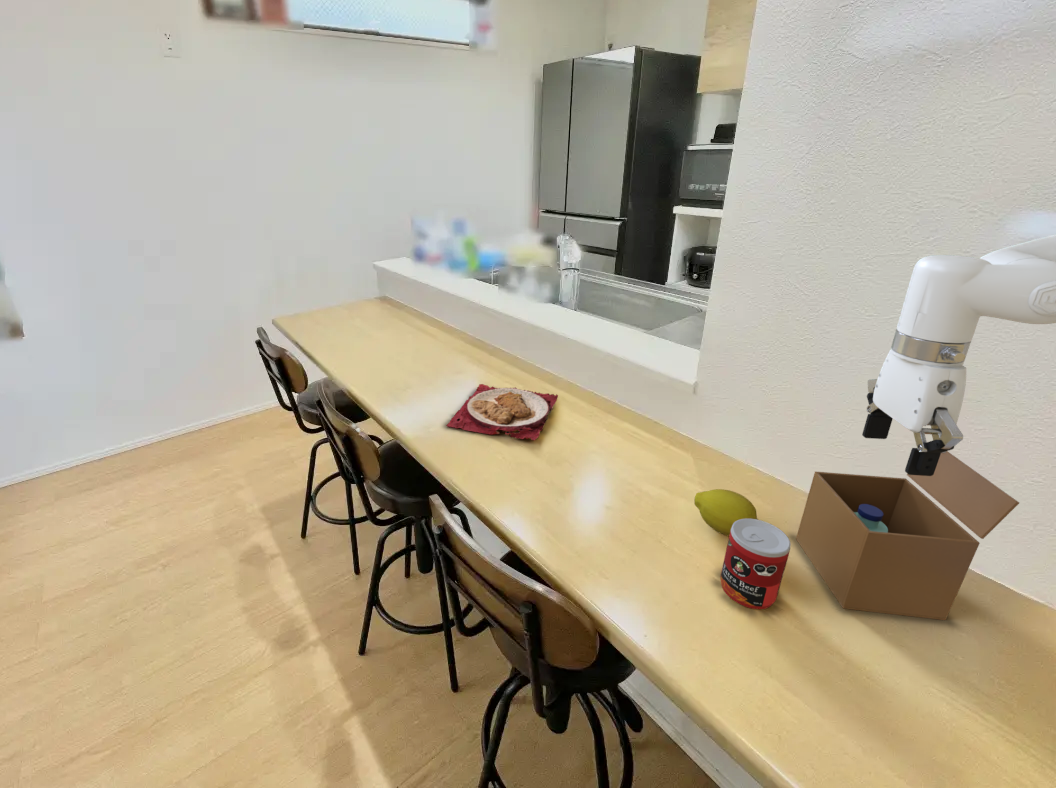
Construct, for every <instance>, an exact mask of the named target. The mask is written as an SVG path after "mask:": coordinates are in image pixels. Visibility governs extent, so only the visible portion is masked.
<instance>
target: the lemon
mask: <svg viewBox="0 0 1056 788" xmlns="http://www.w3.org/2000/svg"><path fill="white" fill-rule="evenodd" d="M694 506H695V507H696V508H697V509H698V510H699V514H700V516H701V518H702V520H703V521H704V522H705V524H706V525H707V526H708V527H710V528H711V529H713V530H714V531H716V532H717V533H718V534H721V535H724V536H727V537H729V535H730V531H731V528H732V525H733V523H734V522H735V521H737V520H740V519H746V518H747V519H757V520H759V518H758V515H757V509H756V507H755V506H754V504H753V503H752V502H751V500H749V499H748V498H747V497H746V496H744V495H742V494H740V493H738V492H736V491H734V490H730V489H725V488H724V489H722V488H715V489H710V490H705V491H700V492H696V494H695V495H694Z"/></svg>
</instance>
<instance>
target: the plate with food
mask: <svg viewBox="0 0 1056 788" xmlns="http://www.w3.org/2000/svg"><path fill="white" fill-rule="evenodd" d="M558 398H559V395H558V394H557V393H556V394H554V393H551V394H550V393H543V392H542V393H541V392H537V391H531V390H526V389H520V388H517V387H494V385H493V386H489V385H487V384H483V383H479V384H478V387H476V390H475V391H474V392H473V394H472V395H470V396H469V397H468V399H466V400H465V401H464V403H463V405H462V406H461V407H460V409H458V410H457V411H456V412H455V414H454V415H453V416H452V417H451V419H450V420H449V422H448V423H447V424H445V426H446V427H448V428H455V429H462V430H463V431H467V432H472V433H474V432H475V433H480V434H481V433H482V434H486V435H499V434H500V433H501V431H502V432H504V434H505V435H510V438H514V439H518V440H519V439H520V440H524V439H526V440H528V439H530V440H531V441H536V440H537V439H538V438H539V437H540V434H541V433H540V432H543V429H544V427H545V425H546V423H547V420H548V419H549V416H550V415H551V414H552V411H553V410H554V405H556V402H557V400H558ZM458 419H459V420H458Z"/></svg>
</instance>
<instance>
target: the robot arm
mask: <svg viewBox="0 0 1056 788" xmlns="http://www.w3.org/2000/svg"><path fill="white" fill-rule="evenodd" d="M980 317H988V318H993V319H994V318H995V319H1000V320H1006V321H1011V322H1016V323H1021V324H1028V325H1052V324H1056V233H1055V234H1051V235H1047V236H1043V237H1039V238H1035V239H1031V240H1029V241H1025V242H1021V243H1017V244H1013V245H1009V246H1005V247H1002V248H999V249H995V250H994V251H993V250H992V251H990V252H988V253H986V254H984V255H982V256H981V257H973V256H967V255H955V254H933V255H926V256H924V257H922V258H920V259H919V260H918V261H916V263H915V264H914V266H913V269H912V272H911V276H910V280H909V283H908V286H907V289H906V293H905V296H904V300H903V304H902V308H901V311H900V315H899V318H898V321H897V324H896V325H897V326H896V328H895V333H894V335H893V339H892V343H891V346H890V350H889V351H888V353H887V355H886V357H885V359H884V360H883V363H882V365H881V366H882V367H881V368H880V370H879V374H878V376H877V378H873V379H868V380H867V392H868V393H867V394H866V399H867V402H868V405H867V406H866V412H867V416H866V420H865V423H864V427H863V430H862V433H861V434H862V436H863V438H865V439H872V440H873V439H875V440H886V439H887V438H888V436H889V432H890V430H891V425H892V423H893V420H894V421H896V422H897V423H898V424H900V425H901V426H903V427H904V428H905V429H907V430H909V431H910V432H911V433H913V437H914V440H915V446H916V447H911V450H910V453H909V456H908V459H907V462H906V466H905V469H904V472H905V473H906V475H907V474H909V475H920V476H932V475H933V474H934V472H935V469H936V466H937V463H938V460H939V457H940V455H941V453H946V451H948V452H950V451H952V450H954V449H955V447H956V446H957V445H958V444H959V443H960V442H962V441H963V440H964V434H963V433H962V430H961V429H960V427H958V425H957V423H958V421H959V417H960V414H961V410H962V406H963V402H964V397H965V391H966V385H967V366H964V363H965V360H966V358H967V356H968V355H967V354H968V352H969V350H970V347H971V344H972V340H973V338H974V334H975V332H976V329H977V326H978V323H979V320H980ZM927 426H930V428H928V427H927ZM926 435H931V437H932V440H930V441H927V438H926Z"/></svg>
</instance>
